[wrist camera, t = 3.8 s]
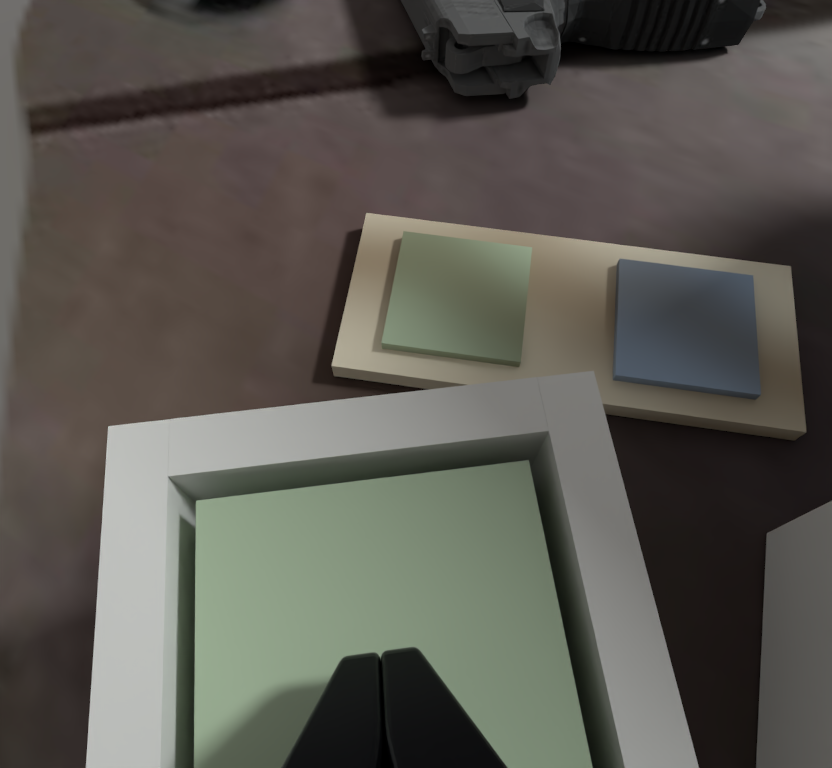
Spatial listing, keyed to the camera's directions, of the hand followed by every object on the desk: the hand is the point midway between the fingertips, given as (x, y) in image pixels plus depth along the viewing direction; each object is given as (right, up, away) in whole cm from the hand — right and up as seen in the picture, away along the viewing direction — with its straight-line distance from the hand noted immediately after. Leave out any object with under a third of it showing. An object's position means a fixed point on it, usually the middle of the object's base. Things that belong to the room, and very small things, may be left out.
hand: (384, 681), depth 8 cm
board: (+4, +5, +11) cm, 13 cm away
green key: (0, -3, +7) cm, 7 cm away
